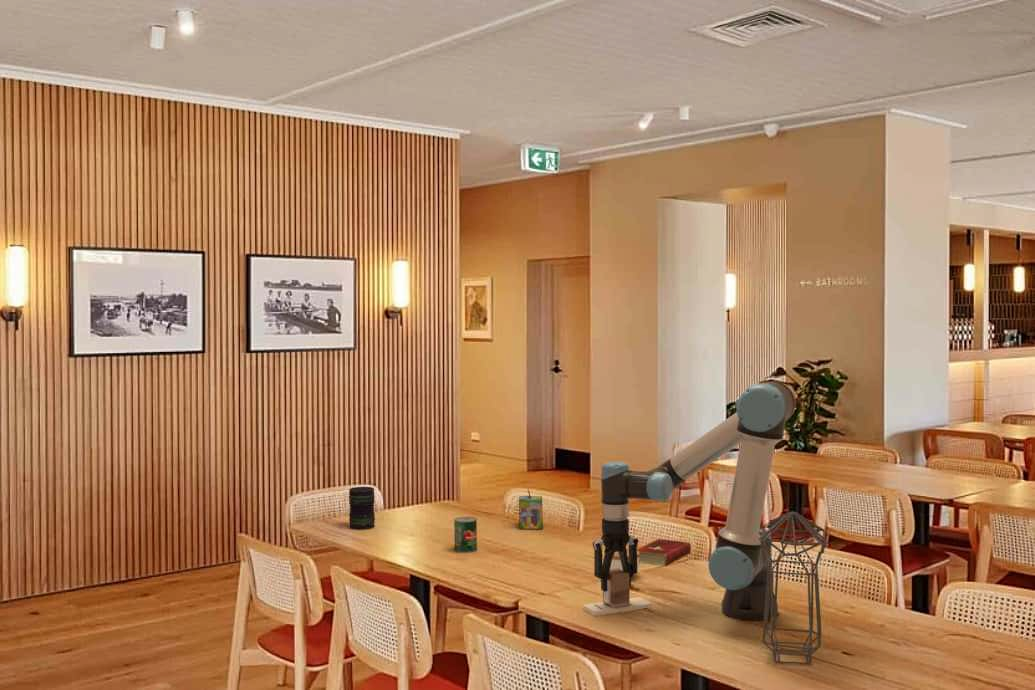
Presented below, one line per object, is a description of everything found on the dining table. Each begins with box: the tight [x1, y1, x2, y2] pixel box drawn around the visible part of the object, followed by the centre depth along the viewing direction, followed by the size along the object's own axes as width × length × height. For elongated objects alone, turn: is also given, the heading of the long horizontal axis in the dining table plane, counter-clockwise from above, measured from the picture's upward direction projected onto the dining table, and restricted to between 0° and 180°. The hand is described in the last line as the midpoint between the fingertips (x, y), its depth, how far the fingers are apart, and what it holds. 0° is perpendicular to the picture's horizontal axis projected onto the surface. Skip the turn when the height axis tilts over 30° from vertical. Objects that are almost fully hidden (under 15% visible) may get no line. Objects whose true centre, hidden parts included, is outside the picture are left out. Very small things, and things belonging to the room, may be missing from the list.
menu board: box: [582, 596, 653, 617], centre depth 277 cm, size 7×18×1 cm, turn 114°
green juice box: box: [518, 488, 544, 531], centre depth 383 cm, size 9×9×15 cm
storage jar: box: [348, 486, 376, 531], centre depth 386 cm, size 10×10×15 cm
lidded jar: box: [609, 547, 640, 576], centre depth 310 cm, size 11×11×9 cm
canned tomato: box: [453, 516, 478, 554], centre depth 346 cm, size 8×8×11 cm
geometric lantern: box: [759, 511, 829, 665], centre depth 235 cm, size 16×16×35 cm
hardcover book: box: [637, 538, 692, 567], centre depth 334 cm, size 12×21×4 cm, turn 148°
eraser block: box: [602, 569, 630, 608], centre depth 276 cm, size 6×5×9 cm
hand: (616, 600), depth 276 cm, fingers closed on eraser block, 5 cm apart
